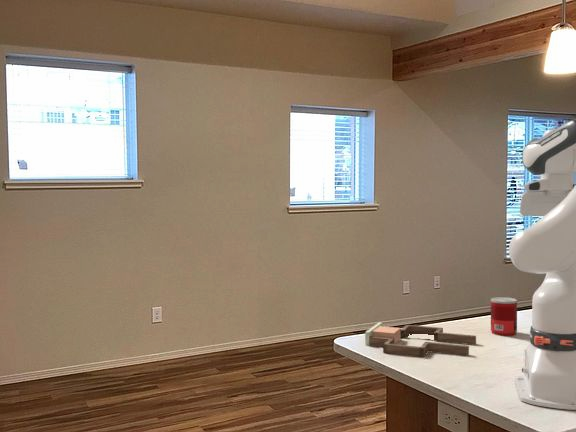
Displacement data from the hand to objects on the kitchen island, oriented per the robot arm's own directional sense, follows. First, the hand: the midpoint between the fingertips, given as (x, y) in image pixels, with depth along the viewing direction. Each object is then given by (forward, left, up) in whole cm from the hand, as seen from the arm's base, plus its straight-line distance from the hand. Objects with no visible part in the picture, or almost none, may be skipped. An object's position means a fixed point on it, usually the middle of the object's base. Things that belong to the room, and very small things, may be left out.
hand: (556, 231), depth 183 cm
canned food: (+10, +16, -34) cm, 39 cm away
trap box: (-13, +37, -34) cm, 52 cm away
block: (-14, +48, -34) cm, 60 cm away
